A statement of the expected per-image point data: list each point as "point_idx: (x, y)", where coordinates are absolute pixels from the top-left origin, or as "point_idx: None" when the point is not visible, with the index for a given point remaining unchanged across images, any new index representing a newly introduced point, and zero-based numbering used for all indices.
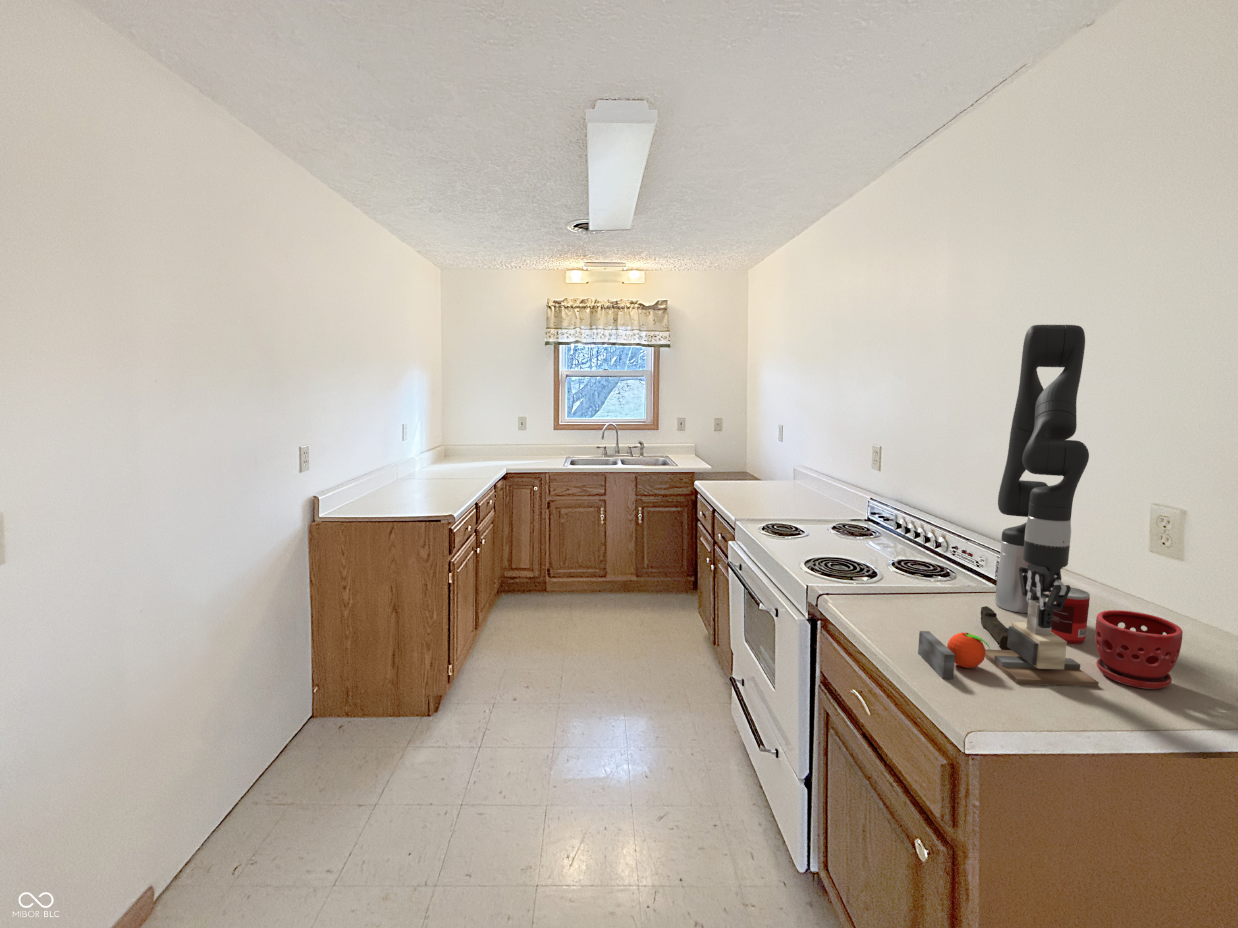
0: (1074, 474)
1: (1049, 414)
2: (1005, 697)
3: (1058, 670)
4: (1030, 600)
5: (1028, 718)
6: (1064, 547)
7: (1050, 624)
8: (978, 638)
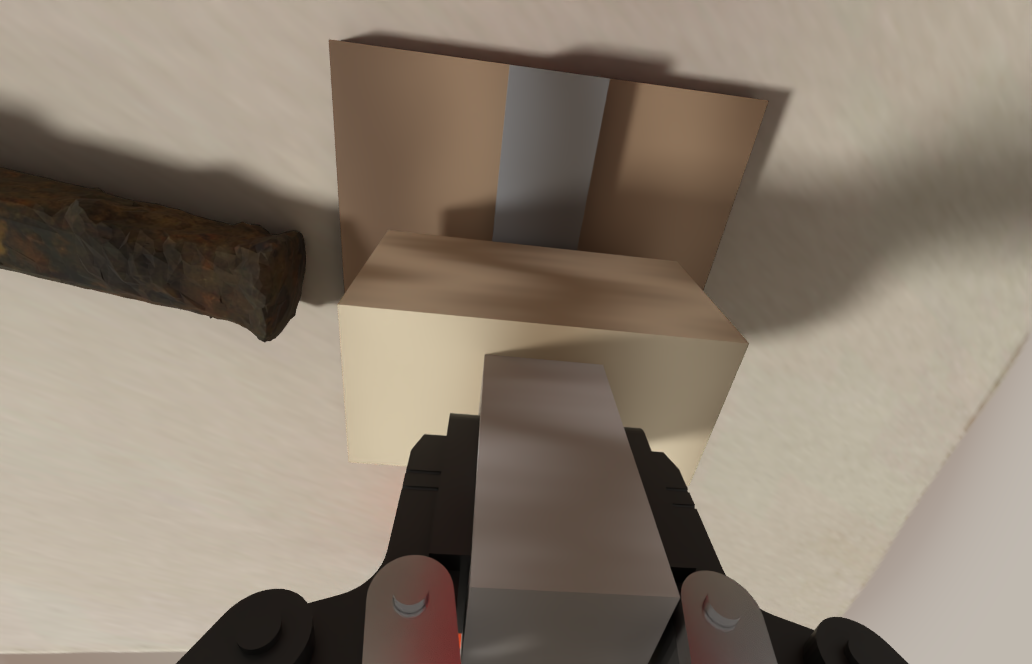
0: None
1: None
2: (721, 508)
3: (602, 224)
4: None
5: (845, 517)
6: None
7: (674, 473)
8: None
